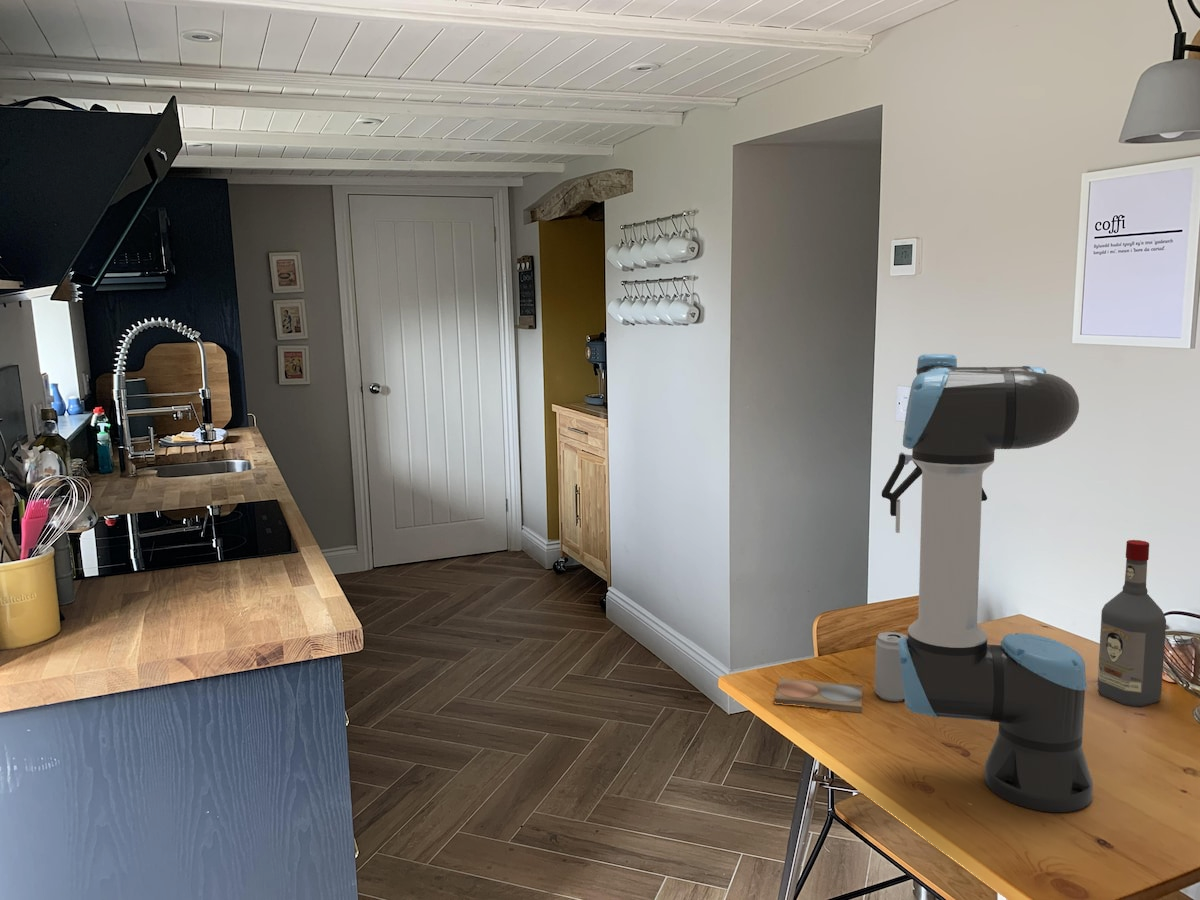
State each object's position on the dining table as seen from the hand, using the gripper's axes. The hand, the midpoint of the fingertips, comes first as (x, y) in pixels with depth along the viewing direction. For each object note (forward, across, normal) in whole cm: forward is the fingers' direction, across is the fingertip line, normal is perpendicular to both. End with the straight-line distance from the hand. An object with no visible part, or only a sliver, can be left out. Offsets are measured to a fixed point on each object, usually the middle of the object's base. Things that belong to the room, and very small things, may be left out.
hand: (932, 532), depth 188 cm
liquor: (+28, -35, +9) cm, 46 cm away
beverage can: (+28, +8, +19) cm, 35 cm away
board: (+28, +21, +23) cm, 42 cm away
